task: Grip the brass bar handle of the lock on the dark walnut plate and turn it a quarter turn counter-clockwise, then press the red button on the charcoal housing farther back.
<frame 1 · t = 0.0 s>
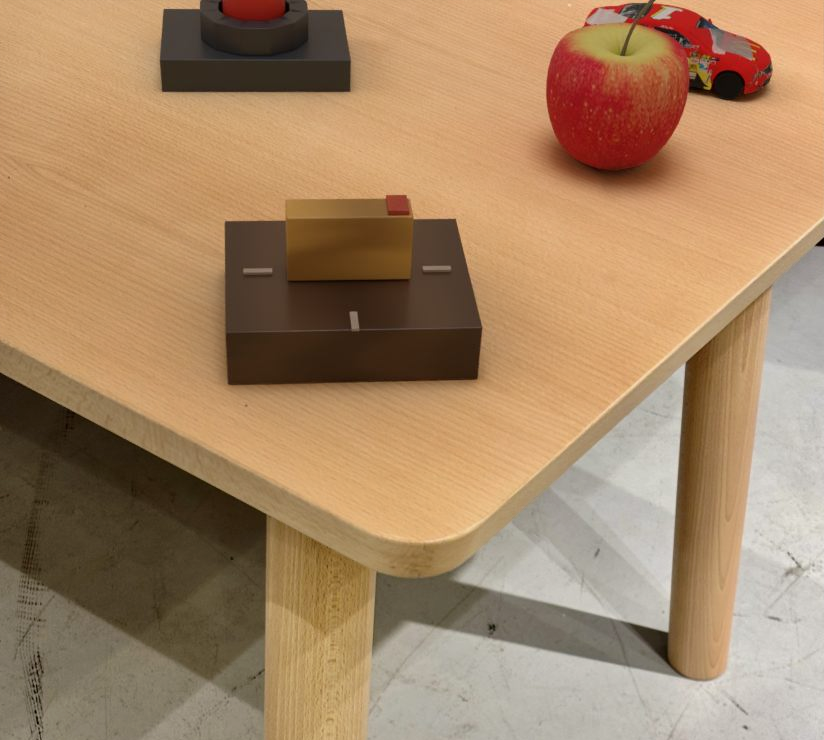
lock: (348, 237, 67), point 5 cm above the table, hinge at 0.0°
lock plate: (346, 322, 70), on the table
race car: (669, 75, 94), on the table
apple: (605, 161, 84), on the table
button box: (255, 65, 91), on the table
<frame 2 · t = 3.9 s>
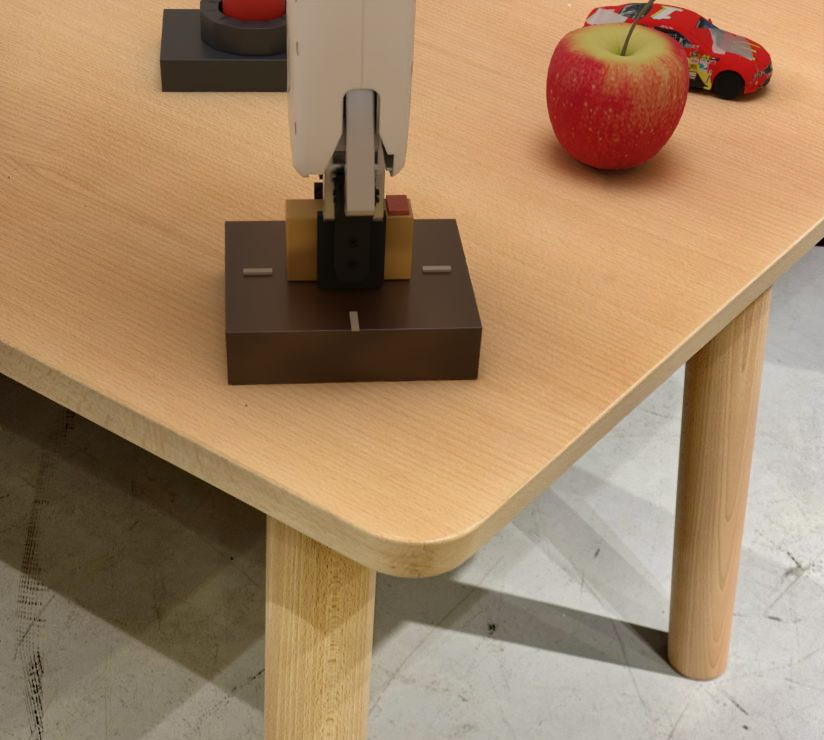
hand: (348, 268, 68), 3 cm above the table, tool pointing down, fingers closed on lock, 2 cm apart
lock: (348, 237, 67), point 5 cm above the table, hinge at 0.0°, touching gripper
everything else where it was.
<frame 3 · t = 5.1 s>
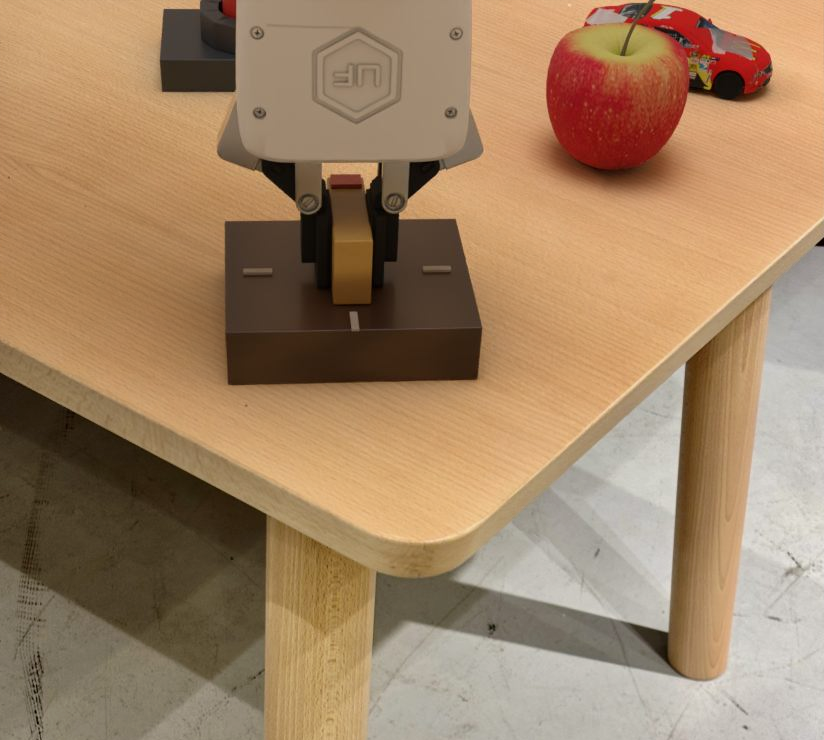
hand: (348, 269, 68), 3 cm above the table, tool pointing down, fingers closed on lock, 2 cm apart
lock: (348, 237, 67), point 5 cm above the table, hinge at 90.0°, touching gripper
everything else where it was.
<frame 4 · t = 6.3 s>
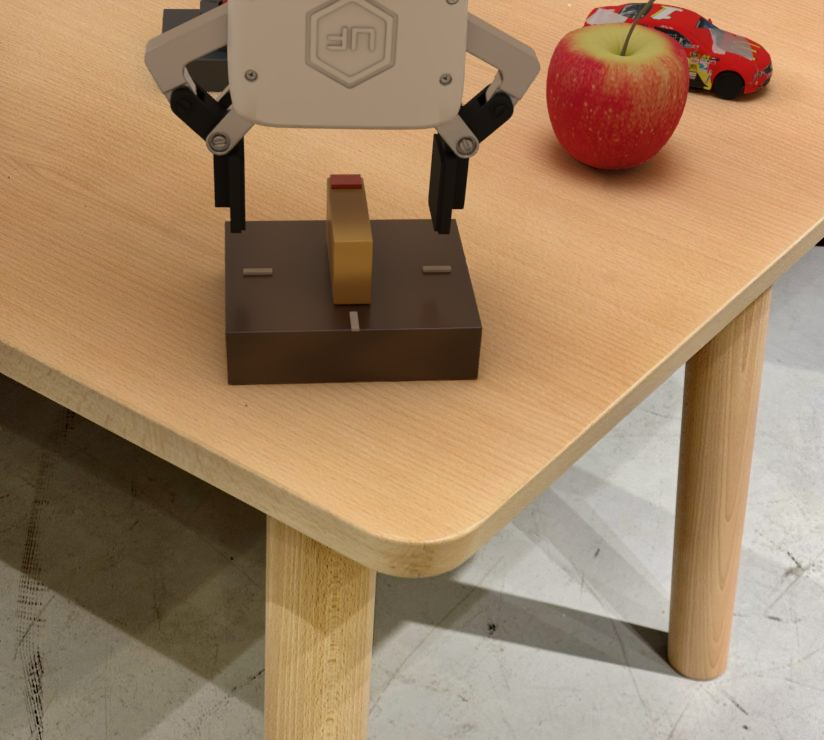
hand: (338, 219, 66), 6 cm above the table, tool pointing down, fingers open, 9 cm apart
lock: (348, 237, 67), point 5 cm above the table, hinge at 90.0°
everything else where it was.
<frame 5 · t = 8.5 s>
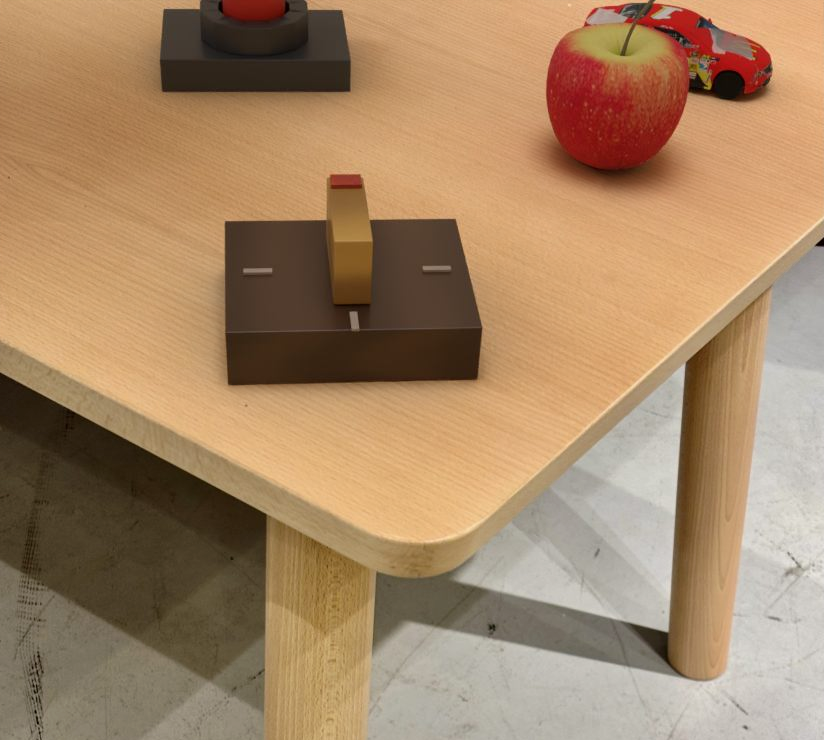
nothing on the table moved.
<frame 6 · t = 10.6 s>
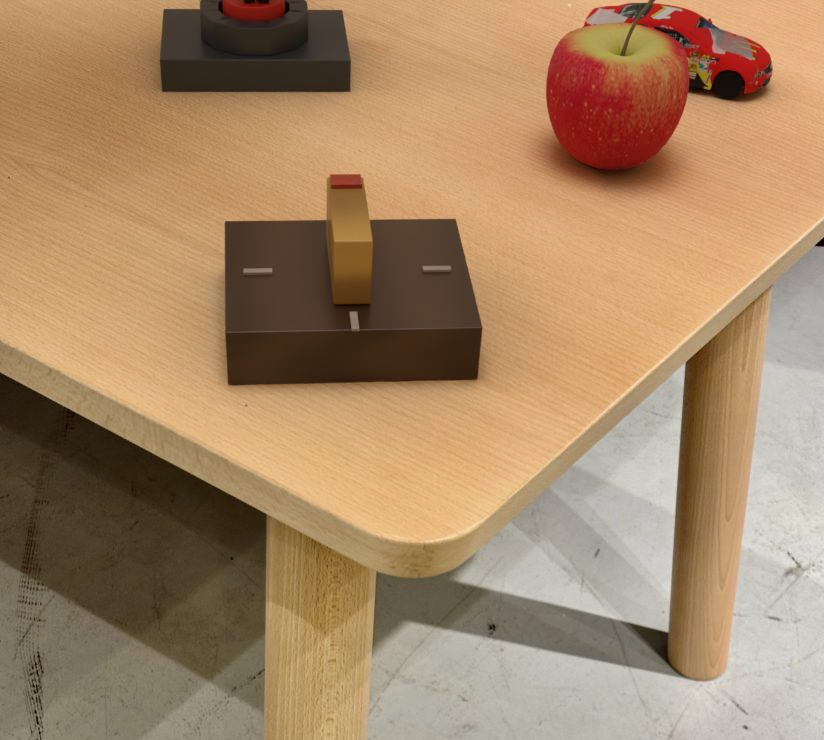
release button: (254, 8, 89), point 4 cm above the table, slide at -0.5 cm, touching gripper
everything else where it was.
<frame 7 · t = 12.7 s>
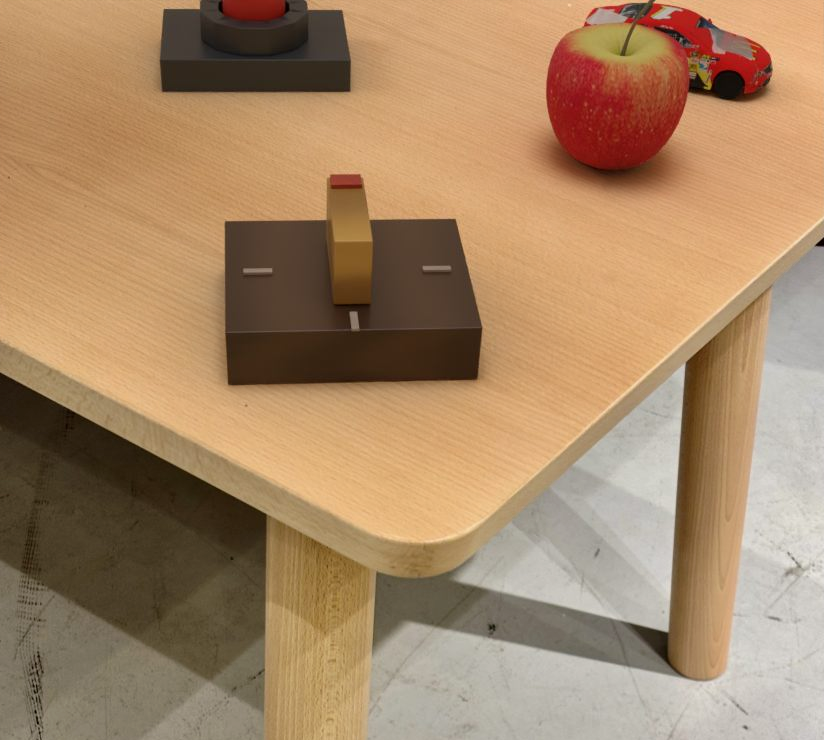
everything else where it was.
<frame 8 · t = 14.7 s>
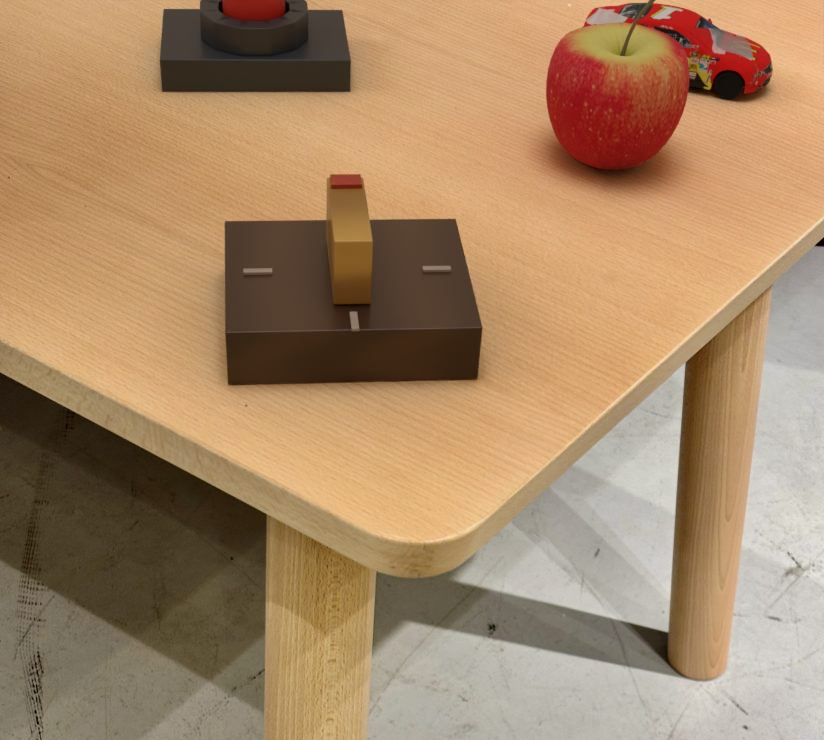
nothing on the table moved.
at the end: lock at +90° (first picture: +0°); release button pushed in 1.1 cm at the most during the clip, back to where it started at the end; release button slide at 0.1 cm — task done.
